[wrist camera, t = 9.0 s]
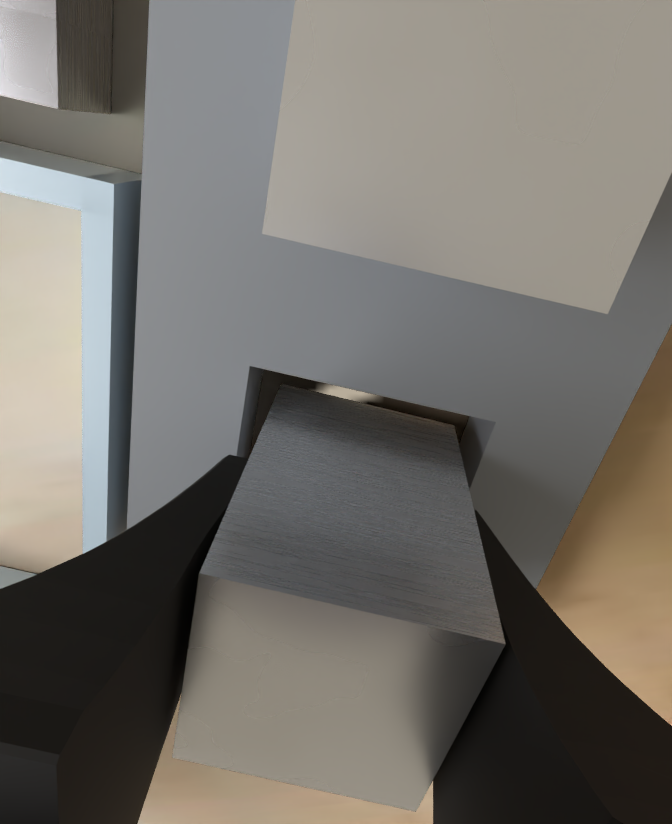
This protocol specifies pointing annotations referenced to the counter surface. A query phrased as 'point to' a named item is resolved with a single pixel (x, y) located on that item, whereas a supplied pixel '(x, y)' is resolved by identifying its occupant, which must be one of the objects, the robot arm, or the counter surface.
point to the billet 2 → (341, 606)
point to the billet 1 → (477, 138)
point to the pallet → (348, 305)
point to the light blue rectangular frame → (94, 319)
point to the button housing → (57, 53)
